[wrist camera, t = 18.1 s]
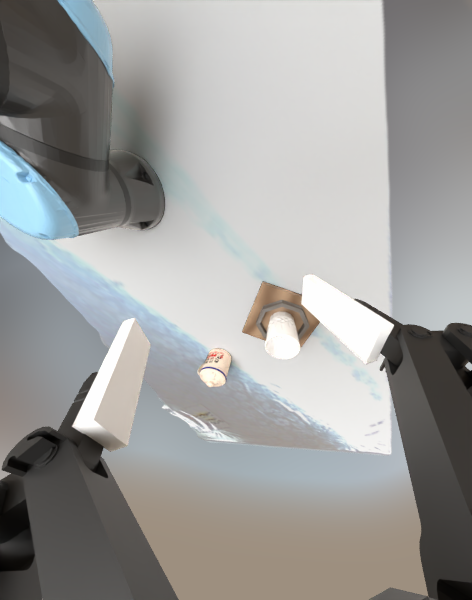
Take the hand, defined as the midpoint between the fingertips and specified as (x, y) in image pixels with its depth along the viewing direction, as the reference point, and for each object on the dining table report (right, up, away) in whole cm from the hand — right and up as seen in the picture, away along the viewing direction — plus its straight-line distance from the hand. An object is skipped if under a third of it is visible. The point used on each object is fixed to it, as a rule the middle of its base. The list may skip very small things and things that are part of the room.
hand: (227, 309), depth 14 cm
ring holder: (+14, -5, +36) cm, 38 cm away
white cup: (+13, -5, +35) cm, 38 cm away
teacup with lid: (-6, -20, +51) cm, 55 cm away
